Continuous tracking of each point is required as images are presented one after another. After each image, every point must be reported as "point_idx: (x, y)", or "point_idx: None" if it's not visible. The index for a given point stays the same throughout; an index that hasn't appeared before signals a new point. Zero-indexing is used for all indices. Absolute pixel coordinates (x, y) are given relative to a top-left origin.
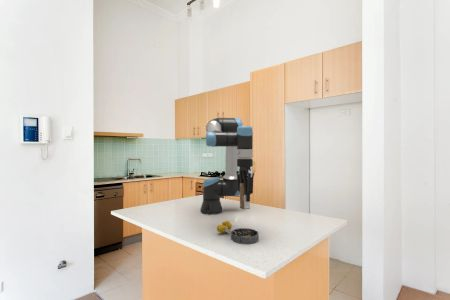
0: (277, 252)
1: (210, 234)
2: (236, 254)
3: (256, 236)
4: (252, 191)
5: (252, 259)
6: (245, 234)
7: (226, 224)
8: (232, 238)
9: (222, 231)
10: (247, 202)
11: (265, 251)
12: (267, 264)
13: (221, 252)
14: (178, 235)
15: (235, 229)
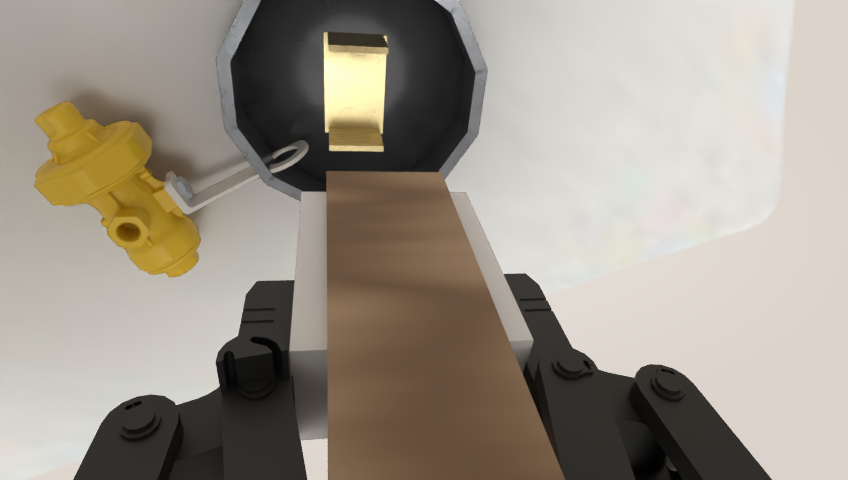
0: (700, 6)
1: (150, 275)
2: (550, 250)
3: (475, 41)
4: (707, 412)
5: (651, 206)
6: (281, 34)
7: (115, 188)
8: None
9: (191, 221)
10: None
11: (632, 76)
12: (743, 168)
13: None
14: None
15: (236, 134)
